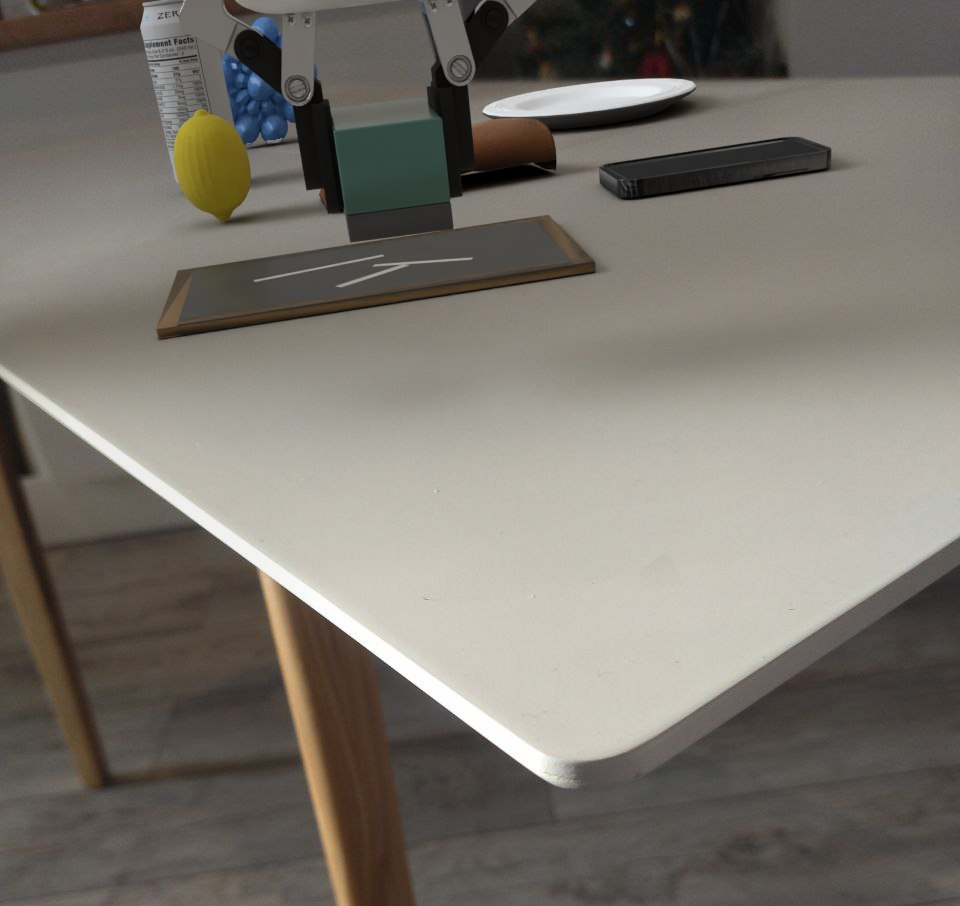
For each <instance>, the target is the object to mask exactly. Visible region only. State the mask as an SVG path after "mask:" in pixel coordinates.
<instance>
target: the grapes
mask: <svg viewBox="0 0 960 906" xmlns="http://www.w3.org/2000/svg"><path fill="white" fill-rule="evenodd" d="M251 27H253V28H255V29H257V30H259V31H260V32H262V33H263V34H264V35H265V36H266V37H268V38H269V39H270V40H271V41H272V42H274V43H275V44H276V45H277V46H278V47H280V48H281V49H282V32H280V33H279V27H278V24H277V23H276V21H275V20H274V19H273V18H271V17H269V16H262V17H258V18H257V19H256V20H254V22H253V23H252V24H251ZM222 55H223V57H224V59H221V62H222V67H223V72H224V77H225V82H226V87H227V92H228V97H229V102H230V107H231V112H232V117H233V122H234V127H235V129H236V130H237V132H238V134H239V135H240V137H241V139H242V141H243V143H244V144H247V143H252V142H253V143H254V141H255V142H256V141H257V139H258V138H259V137H261V138H262V140H263V141H264V140H265V141H267V140H276V139H280V138H284V137H285V138H286V137H287V134H288V132H289V124H288V123H290V124H291V123H292V124H295V118H294V112H293V106H292V104H290V103H289V102H287V100H286V99H285V98H284V97H283V96H282V95H281V94H279V93H278V92H277V91H276V90H274V89H273V88H272V87H271V86H270V85H268V84H267V83H266V82H265V81H263V80H262V79H261V78H260V77H259V76H257V75H256V74H255V73H254V72H252V71H251V70H250V69H249V68H248V67H246V66H245V65H244V64H243V63H241V62H240V61H239V60H237V59H235V58H233V57H232V56H230V55H228V54H226V53H223V52H222ZM314 77H316V78H317V77H318V67H317V64H316V62H315V63H314ZM317 79H318V78H317ZM285 138H284V139H285ZM265 141H264V142H265ZM253 143H252V144H253Z"/></svg>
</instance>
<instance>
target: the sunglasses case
mask: <svg viewBox="0 0 960 906" xmlns="http://www.w3.org/2000/svg"><path fill="white" fill-rule="evenodd" d="M472 135H473V145H474V155H475V169H471V170H463V171H460V172H461V175H466V174H468V173H473V172H476V173H477V172H479V173H480V172H481V173H482V172H490V171H495V170H499V169H504V168H510V167H518V166H522V165H529V164H533V165H535V166H537V167H539V168H541V169H544V170H552V171H556V170H557V163H558V161H557V160H558V159H557V148H556V142H555V139H554V138H555V137H554V136H553V133H552V132H551V129H548V127H547V126H546V125H545V124H544V123H542V122H541V121H539V120H537V119H532V118H501V119H490V120H485V121H479V122H476V123H472ZM318 196H319V198H320V201H321V202H322V204H323V206H324V205H325V206H324V207H325V209H326V210H327V205H326V198H325V192H324V188H323V189H319V194H318Z"/></svg>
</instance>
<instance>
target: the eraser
mask: <svg viewBox="0 0 960 906" xmlns="http://www.w3.org/2000/svg"><path fill="white" fill-rule="evenodd" d="M330 110H331V116H332V123H333V125H332V128H333V135H334V141H335V148H336V155H337V161H338V168H339V175H340V181H341V188H342V195H343V202H344V209H343V214H344V218H345V222H346V223H345V224H346V228H347V229H346V230H347V233H348V239H349V242H350V243H351V244H353V243H361V242H368V241H376V240H384V239H390V238H397V237H404V236H410V235H417V234H424V233H430V232H437V231H444V230H451V229H455V227H454V217H453V210H452V202H451V198H450V190H449V181H448V172H447V162H446V153H445V143H444V134H443V125H442V119H441V117H440V116H439V115H438V114H437V112H436V111H435V110H434V109H433V108H432V107H431V106H430V104H429V103H428V100H426V98H425V97H422V96H421V97H414V98H406V99H398V100H390V101H389V100H388V101H379V102H373V103H366V104H365V103H364V104H357V105H349V106H341V107H334V108H333V107H332V108H330Z"/></svg>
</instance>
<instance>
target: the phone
mask: <svg viewBox="0 0 960 906" xmlns="http://www.w3.org/2000/svg"><path fill="white" fill-rule="evenodd" d="M831 166H832V148H831V147H830V146H828V145H825V144H821V143H818V142H816V141H813V140H810V139H807V138H805V137H802V136H782V137H776V138H769V139H762V140H756V141H749V142H748V141H747V142H742V143H741V142H740V143H736V144H729V145H721V146H715V147H709V148H702V149H696V150H695V149H694V150H689V151H682V152H681V151H680V152H675V153H671V154H670V153H668V154H662V155H654V156H648V157H643V158H642V157H640V158H635V159H627V160H621V161H615V162H609V163H604V164H600V165H599V166H598V178H599V184H600V185H601V186H603V187H604V188H605V189H607V190H608V191H609V192H611V193H612V194H614V195H615V196H617V197H618V198H627V199H628V198H639V197H645V196H650V195H652V196H653V195H657V194H665V193H672V192H678V191H686V190H691V189H697V188H705V187H712V186H717V185H723V184H724V185H725V184H732V183H737V182H745V181H750V180H759V179H763V178H771V177H777V176H784V175H791V174H797V173H803V172H810V171H816V170H817V171H818V170H823V169H827V168H829V167H831Z"/></svg>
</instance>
